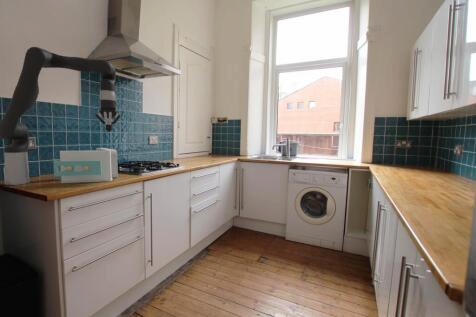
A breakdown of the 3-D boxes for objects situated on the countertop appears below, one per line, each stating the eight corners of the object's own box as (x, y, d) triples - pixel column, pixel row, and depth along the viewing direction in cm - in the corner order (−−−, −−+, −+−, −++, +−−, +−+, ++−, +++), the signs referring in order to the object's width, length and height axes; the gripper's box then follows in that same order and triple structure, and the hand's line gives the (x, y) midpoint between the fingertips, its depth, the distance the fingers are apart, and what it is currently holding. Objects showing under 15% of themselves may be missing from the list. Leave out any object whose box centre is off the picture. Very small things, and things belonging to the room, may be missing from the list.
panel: (54, 176, 128) (53, 161, 127) (55, 175, 129) (54, 161, 128) (101, 174, 134) (100, 160, 133) (101, 174, 135) (101, 160, 135)
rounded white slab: (121, 177, 155) (120, 149, 153) (108, 179, 149) (107, 150, 148) (108, 172, 175) (107, 147, 173) (96, 173, 170) (95, 147, 168)
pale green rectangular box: (55, 185, 127) (53, 152, 125) (64, 181, 139) (62, 150, 137) (108, 183, 135) (106, 151, 133) (112, 179, 147) (111, 150, 145)
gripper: (92, 98, 125) (93, 131, 127) (120, 99, 129) (121, 131, 131) (96, 100, 133) (97, 131, 134) (122, 101, 137) (123, 132, 138)
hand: (109, 131), depth 133 cm, fingers closed
